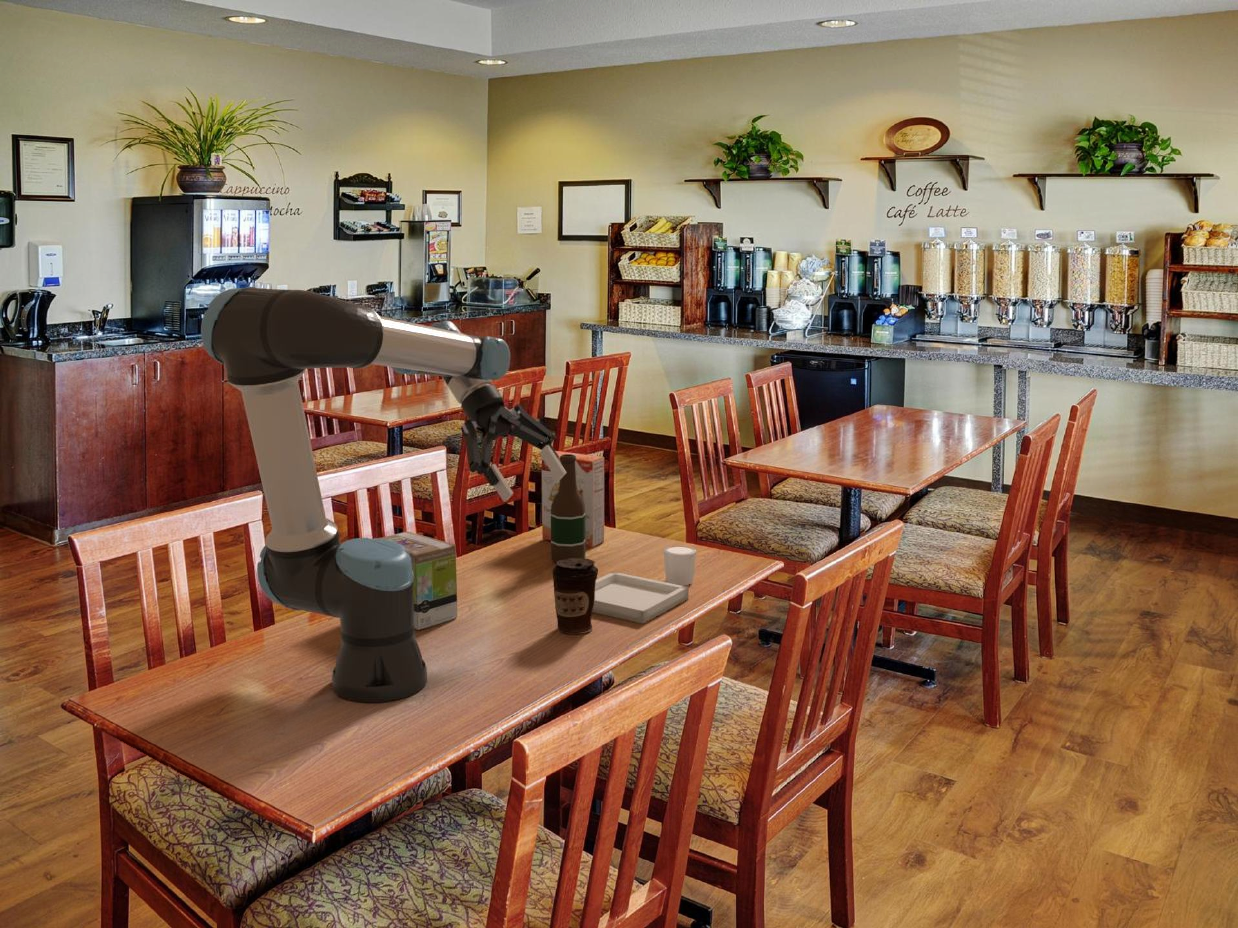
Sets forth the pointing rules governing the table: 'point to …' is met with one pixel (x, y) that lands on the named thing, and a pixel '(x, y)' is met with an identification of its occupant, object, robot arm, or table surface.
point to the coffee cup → (574, 594)
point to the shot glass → (679, 564)
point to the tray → (635, 597)
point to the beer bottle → (568, 516)
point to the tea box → (431, 578)
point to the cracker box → (589, 489)
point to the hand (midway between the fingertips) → (536, 487)
